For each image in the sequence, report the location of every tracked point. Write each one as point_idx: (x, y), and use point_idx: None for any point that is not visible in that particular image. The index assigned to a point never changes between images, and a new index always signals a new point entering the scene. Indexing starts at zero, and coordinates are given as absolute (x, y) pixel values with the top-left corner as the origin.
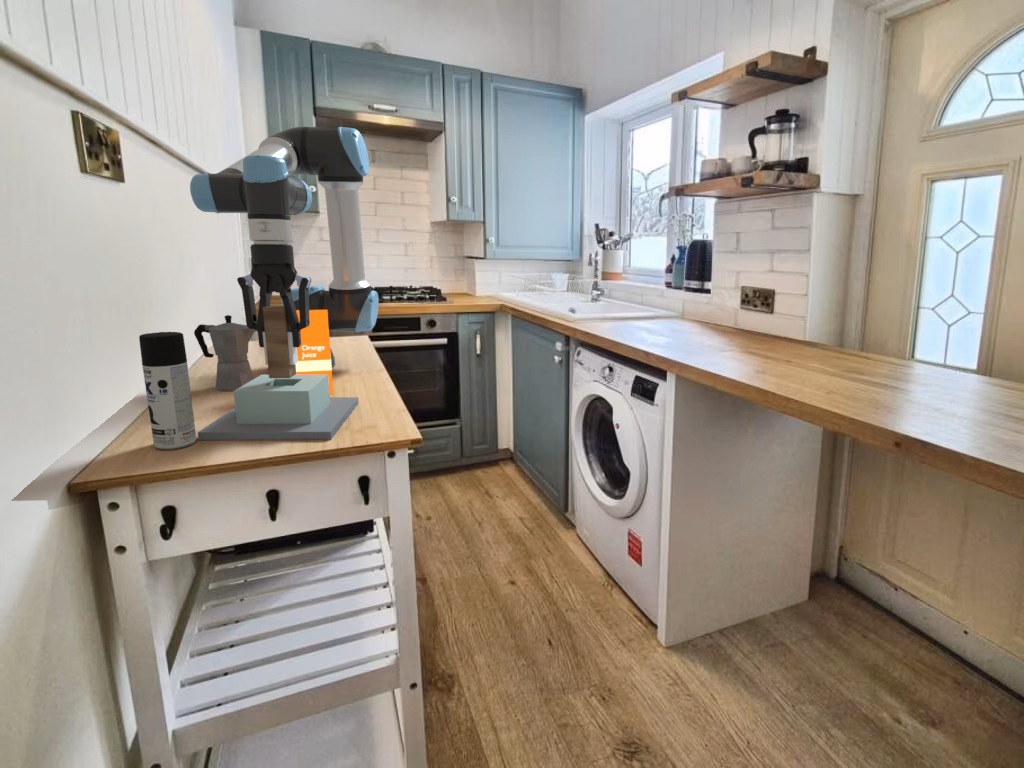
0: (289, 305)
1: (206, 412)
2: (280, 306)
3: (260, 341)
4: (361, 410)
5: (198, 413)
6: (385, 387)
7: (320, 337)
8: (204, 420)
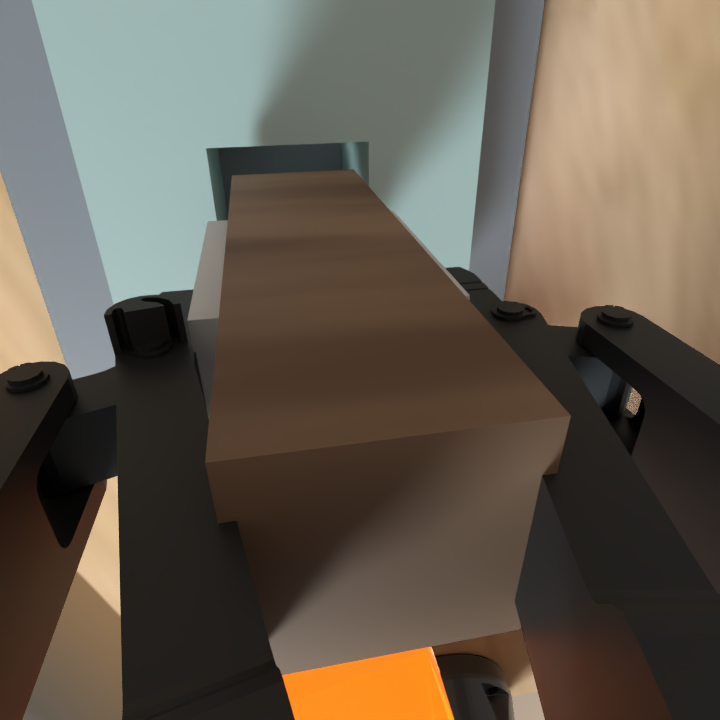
0: (136, 557)
1: (601, 259)
2: (332, 558)
3: (470, 283)
4: (30, 327)
5: (623, 246)
6: (95, 583)
7: (289, 693)
8: (586, 164)
